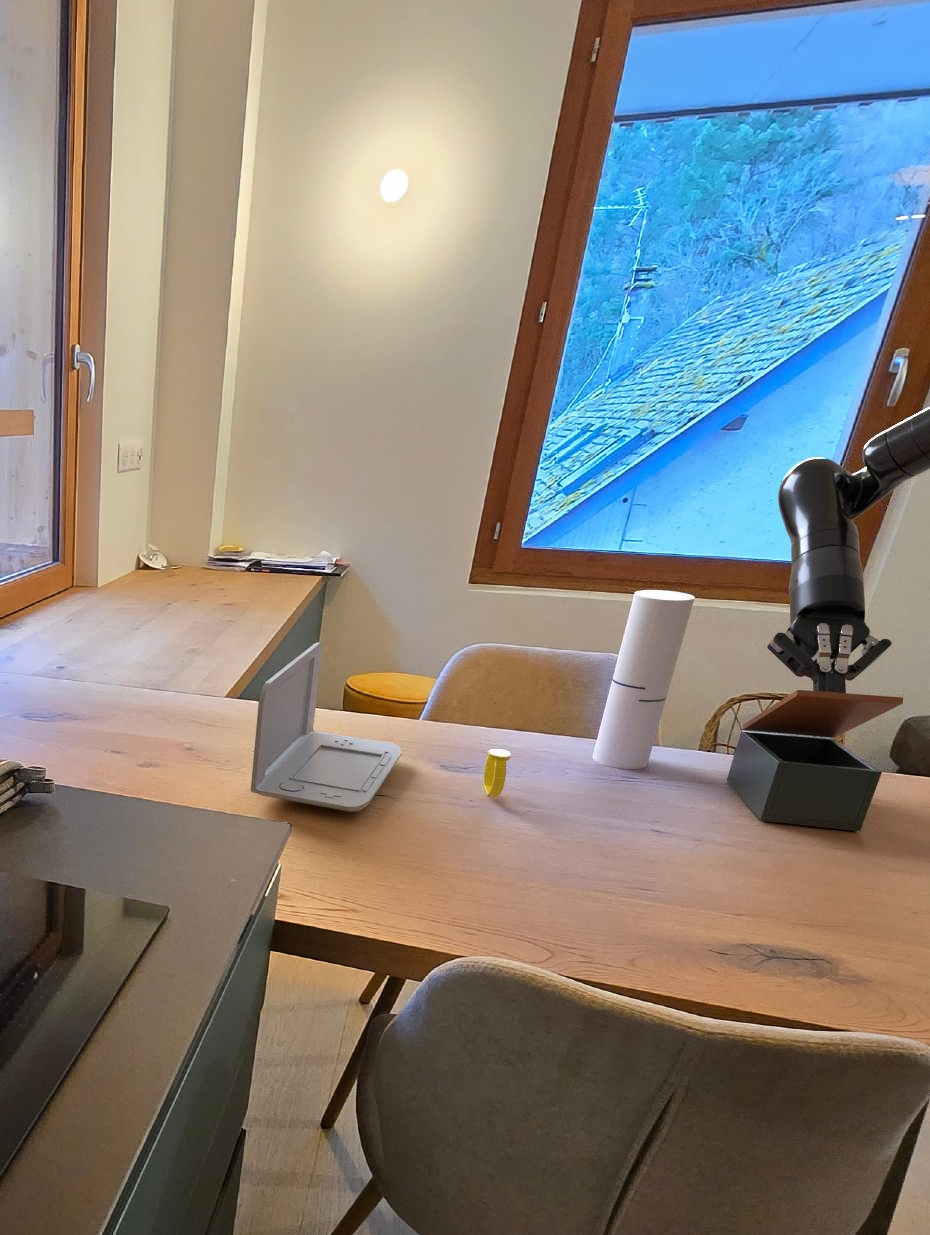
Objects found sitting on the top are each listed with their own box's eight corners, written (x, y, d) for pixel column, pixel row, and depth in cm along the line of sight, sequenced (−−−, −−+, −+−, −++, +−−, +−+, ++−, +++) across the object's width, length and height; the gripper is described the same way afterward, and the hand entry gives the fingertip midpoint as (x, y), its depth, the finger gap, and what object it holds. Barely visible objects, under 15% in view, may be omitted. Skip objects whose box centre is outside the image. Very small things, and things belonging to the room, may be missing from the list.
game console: (362, 817, 123) (378, 702, 116) (250, 796, 130) (260, 686, 123) (405, 751, 144) (422, 650, 138) (308, 736, 151) (319, 639, 145)
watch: (475, 784, 134) (484, 743, 132) (497, 785, 134) (505, 745, 131) (483, 800, 129) (492, 758, 127) (506, 801, 129) (515, 760, 126)
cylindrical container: (595, 752, 148) (637, 588, 137) (648, 761, 144) (696, 593, 133) (588, 766, 143) (631, 596, 132) (643, 776, 139) (692, 602, 128)
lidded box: (860, 831, 119) (882, 771, 116) (759, 820, 123) (778, 762, 120) (814, 792, 133) (833, 738, 130) (725, 783, 136) (741, 730, 133)
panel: (902, 703, 114) (903, 697, 114) (796, 695, 117) (797, 689, 117) (834, 738, 129) (834, 732, 130) (742, 730, 133) (742, 724, 133)
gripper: (779, 569, 125) (781, 682, 119) (903, 574, 121) (912, 691, 115) (754, 605, 132) (755, 713, 126) (871, 611, 127) (877, 723, 121)
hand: (830, 703), depth 120 cm, fingers closed
